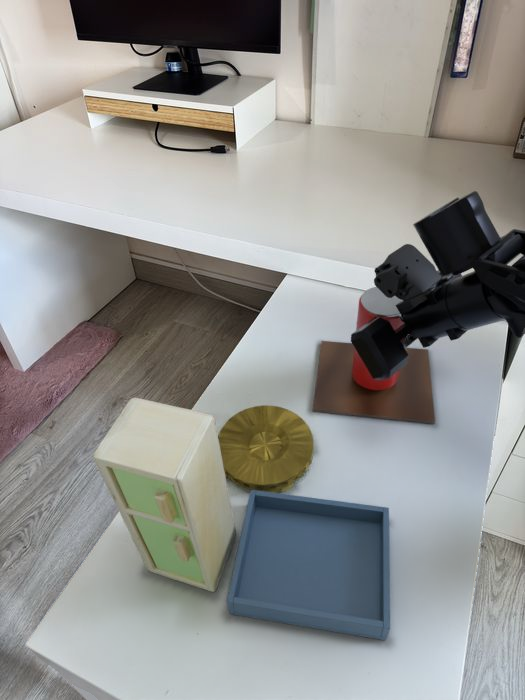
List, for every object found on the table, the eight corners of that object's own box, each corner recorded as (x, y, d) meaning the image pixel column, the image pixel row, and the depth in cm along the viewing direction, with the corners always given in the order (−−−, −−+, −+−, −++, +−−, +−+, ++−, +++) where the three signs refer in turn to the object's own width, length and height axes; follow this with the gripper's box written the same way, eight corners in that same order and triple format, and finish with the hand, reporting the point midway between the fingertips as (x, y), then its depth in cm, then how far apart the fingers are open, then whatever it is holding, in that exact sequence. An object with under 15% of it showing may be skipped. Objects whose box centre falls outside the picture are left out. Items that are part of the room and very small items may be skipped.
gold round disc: (200, 470, 62) (197, 460, 61) (247, 404, 70) (246, 394, 68) (287, 510, 58) (287, 500, 56) (327, 435, 65) (328, 424, 64)
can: (407, 378, 70) (423, 304, 62) (371, 397, 68) (382, 322, 59) (377, 352, 74) (388, 279, 66) (342, 369, 72) (348, 296, 64)
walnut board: (427, 351, 76) (428, 349, 76) (434, 424, 66) (435, 421, 66) (321, 343, 79) (321, 340, 78) (312, 411, 69) (312, 409, 68)
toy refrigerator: (142, 578, 53) (85, 462, 39) (172, 516, 58) (132, 393, 44) (212, 601, 51) (179, 488, 37) (237, 535, 56) (217, 413, 42)
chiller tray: (385, 521, 56) (388, 507, 54) (386, 640, 48) (390, 629, 46) (252, 504, 59) (250, 489, 57) (229, 614, 50) (226, 601, 48)
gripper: (474, 207, 58) (384, 255, 72) (373, 274, 49) (292, 315, 63) (520, 290, 59) (422, 322, 72) (429, 372, 50) (337, 390, 63)
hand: (371, 334), depth 68 cm, fingers closed on can, 6 cm apart
